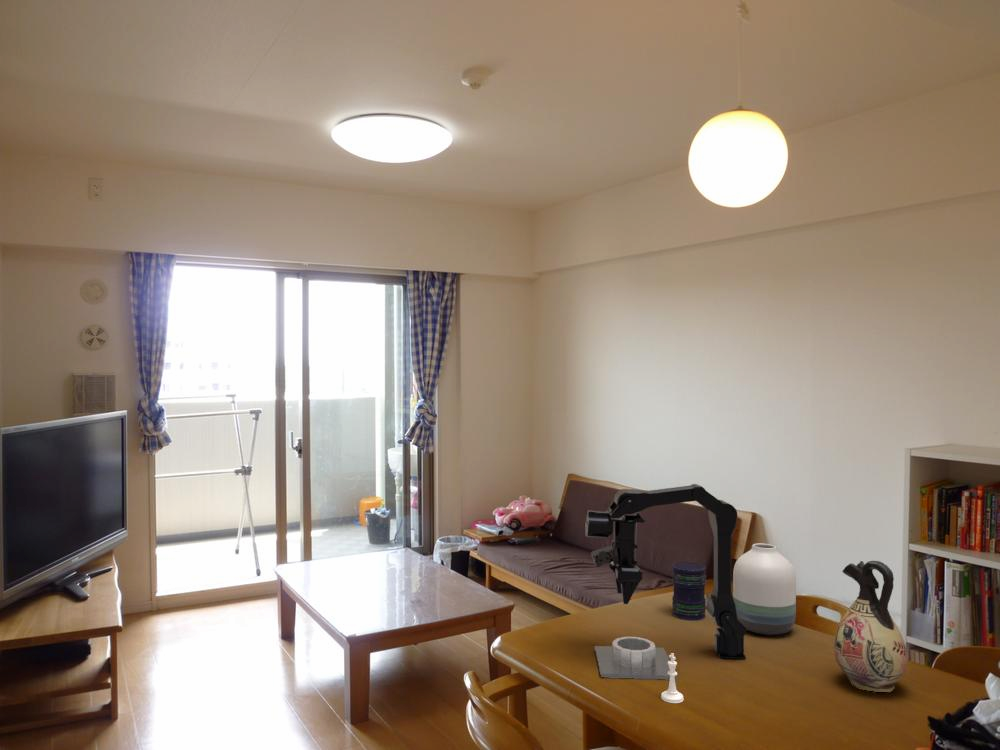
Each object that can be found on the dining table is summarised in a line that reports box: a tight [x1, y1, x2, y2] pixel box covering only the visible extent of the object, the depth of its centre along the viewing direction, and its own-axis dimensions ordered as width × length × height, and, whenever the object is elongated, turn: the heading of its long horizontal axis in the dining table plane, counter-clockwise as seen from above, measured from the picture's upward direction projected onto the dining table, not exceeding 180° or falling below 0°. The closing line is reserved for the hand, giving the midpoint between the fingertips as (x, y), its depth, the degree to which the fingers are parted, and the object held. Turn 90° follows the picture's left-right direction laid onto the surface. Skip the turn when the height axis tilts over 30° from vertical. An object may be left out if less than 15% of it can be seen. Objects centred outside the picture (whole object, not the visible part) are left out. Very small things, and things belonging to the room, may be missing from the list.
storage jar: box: [671, 561, 707, 622], centre depth 217 cm, size 10×10×15 cm
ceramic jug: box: [833, 560, 908, 693], centre depth 166 cm, size 17×15×30 cm
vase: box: [732, 543, 797, 636], centre depth 205 cm, size 17×17×24 cm
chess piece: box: [660, 652, 684, 704], centre depth 160 cm, size 5×5×10 cm
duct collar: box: [594, 636, 678, 681], centre depth 179 cm, size 18×18×5 cm
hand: (622, 598), depth 186 cm, fingers open, 9 cm apart
